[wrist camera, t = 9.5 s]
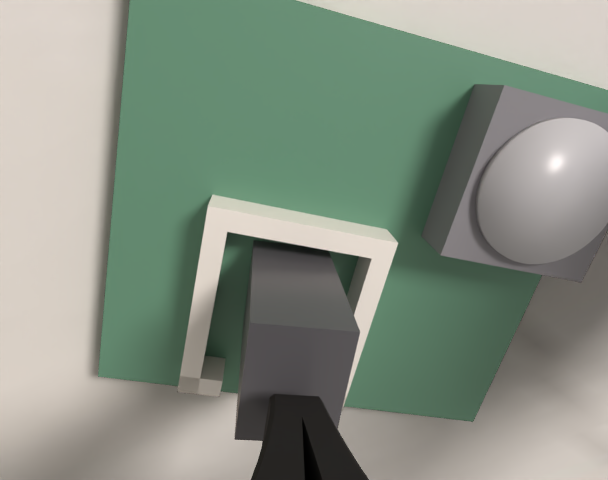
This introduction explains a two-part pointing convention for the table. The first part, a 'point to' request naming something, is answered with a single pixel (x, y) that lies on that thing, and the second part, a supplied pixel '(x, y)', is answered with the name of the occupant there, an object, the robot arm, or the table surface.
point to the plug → (293, 333)
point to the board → (341, 194)
